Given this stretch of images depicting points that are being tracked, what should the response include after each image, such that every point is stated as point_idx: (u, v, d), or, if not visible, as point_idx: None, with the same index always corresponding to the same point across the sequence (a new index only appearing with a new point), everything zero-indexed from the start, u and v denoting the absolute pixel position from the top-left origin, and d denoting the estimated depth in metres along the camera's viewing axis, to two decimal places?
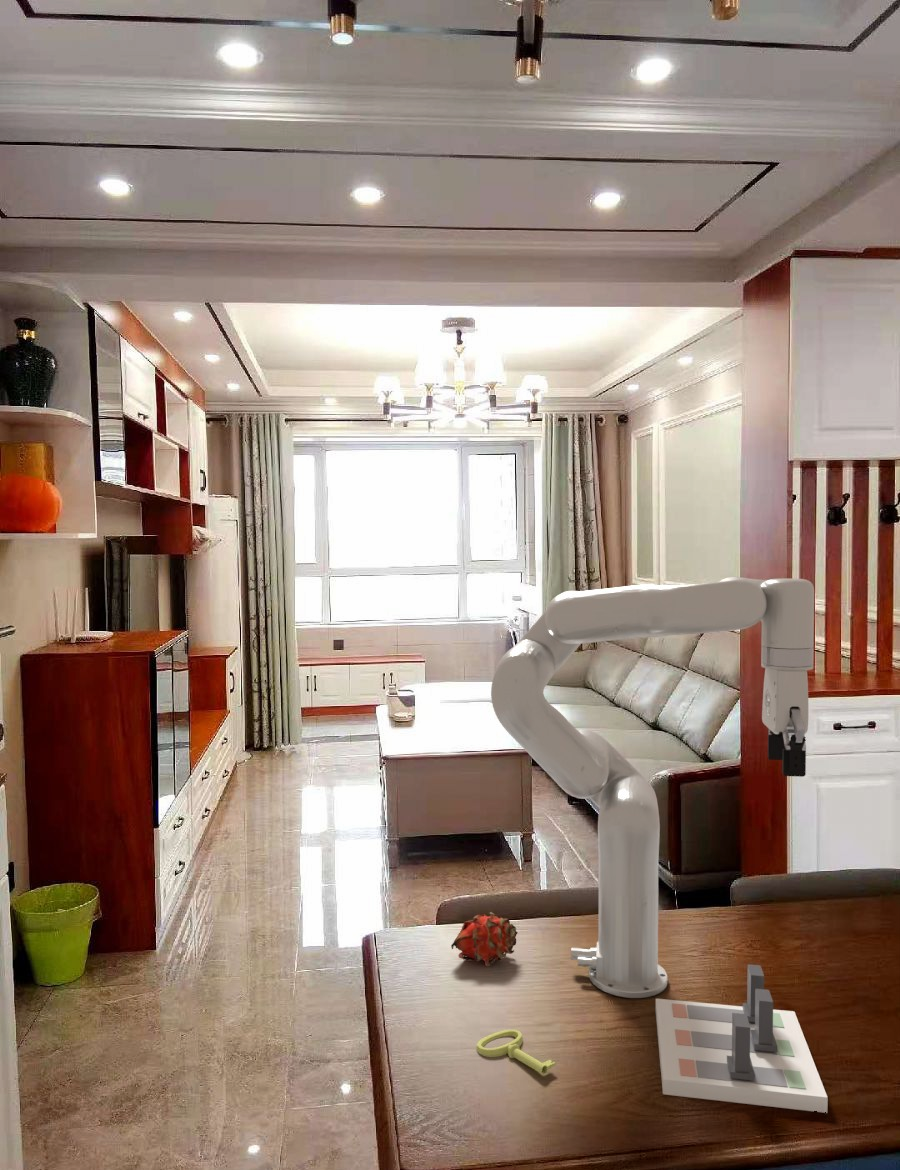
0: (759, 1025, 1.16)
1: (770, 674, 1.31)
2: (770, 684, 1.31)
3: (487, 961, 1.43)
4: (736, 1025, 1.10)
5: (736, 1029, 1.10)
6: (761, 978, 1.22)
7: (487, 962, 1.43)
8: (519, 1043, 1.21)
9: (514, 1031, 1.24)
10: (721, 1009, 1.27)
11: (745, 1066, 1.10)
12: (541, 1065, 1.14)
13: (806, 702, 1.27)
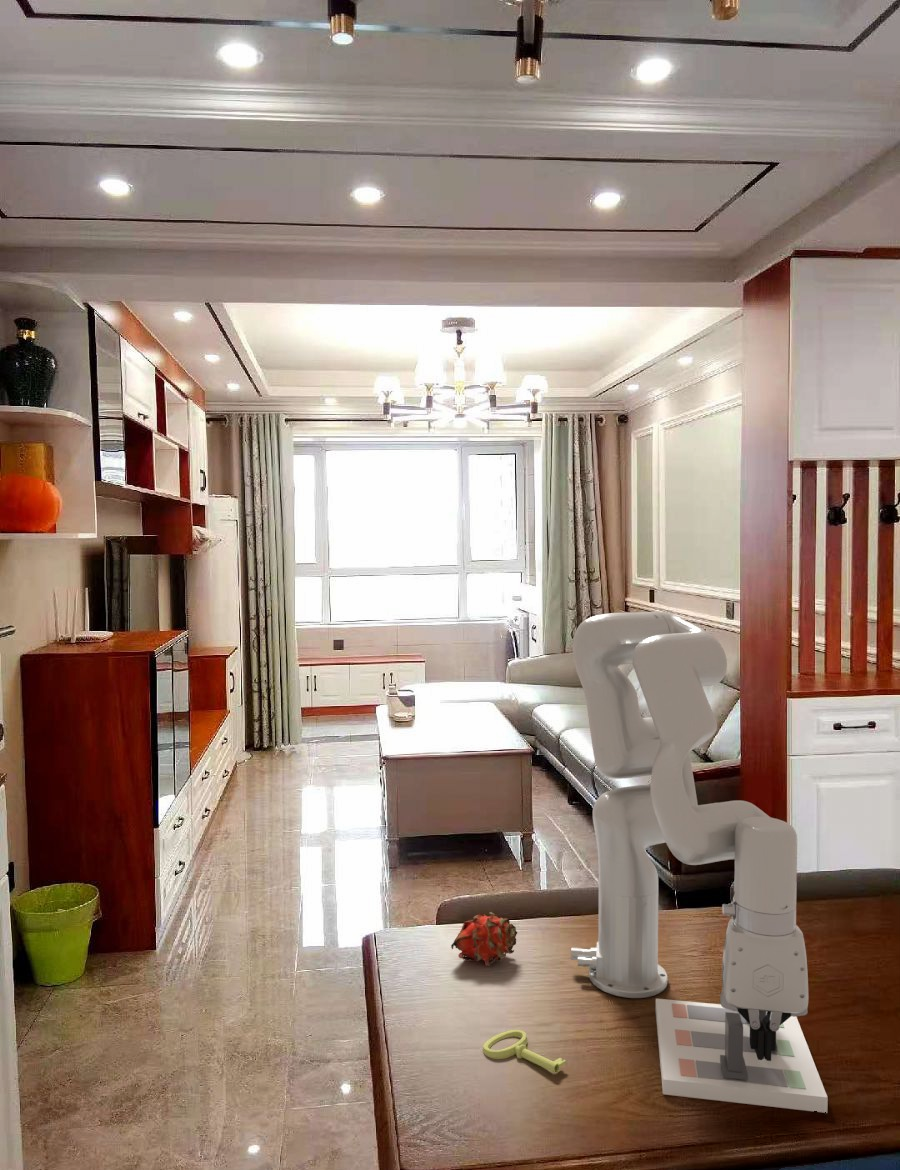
0: None
1: (777, 944, 1.07)
2: (780, 956, 1.07)
3: (487, 961, 1.43)
4: (729, 1024, 1.10)
5: (729, 1028, 1.10)
6: None
7: (487, 962, 1.43)
8: (525, 1043, 1.21)
9: (518, 1031, 1.24)
10: (721, 1009, 1.27)
11: (738, 1065, 1.10)
12: (553, 1064, 1.14)
13: None
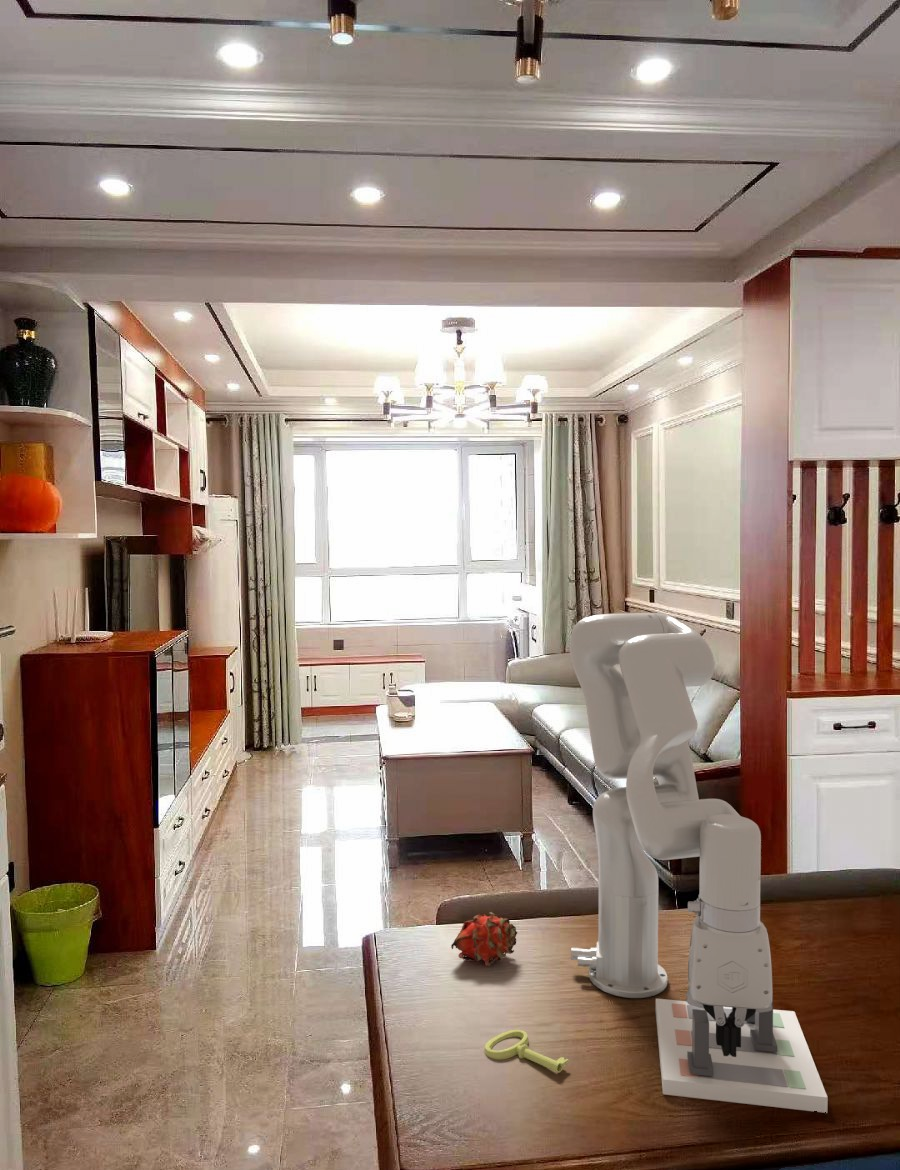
0: (759, 1025, 1.16)
1: (741, 941, 1.08)
2: (745, 953, 1.08)
3: (487, 961, 1.43)
4: (695, 1021, 1.11)
5: (695, 1025, 1.11)
6: None
7: (487, 962, 1.43)
8: (526, 1043, 1.21)
9: (518, 1031, 1.24)
10: None
11: (704, 1062, 1.11)
12: (556, 1063, 1.15)
13: None
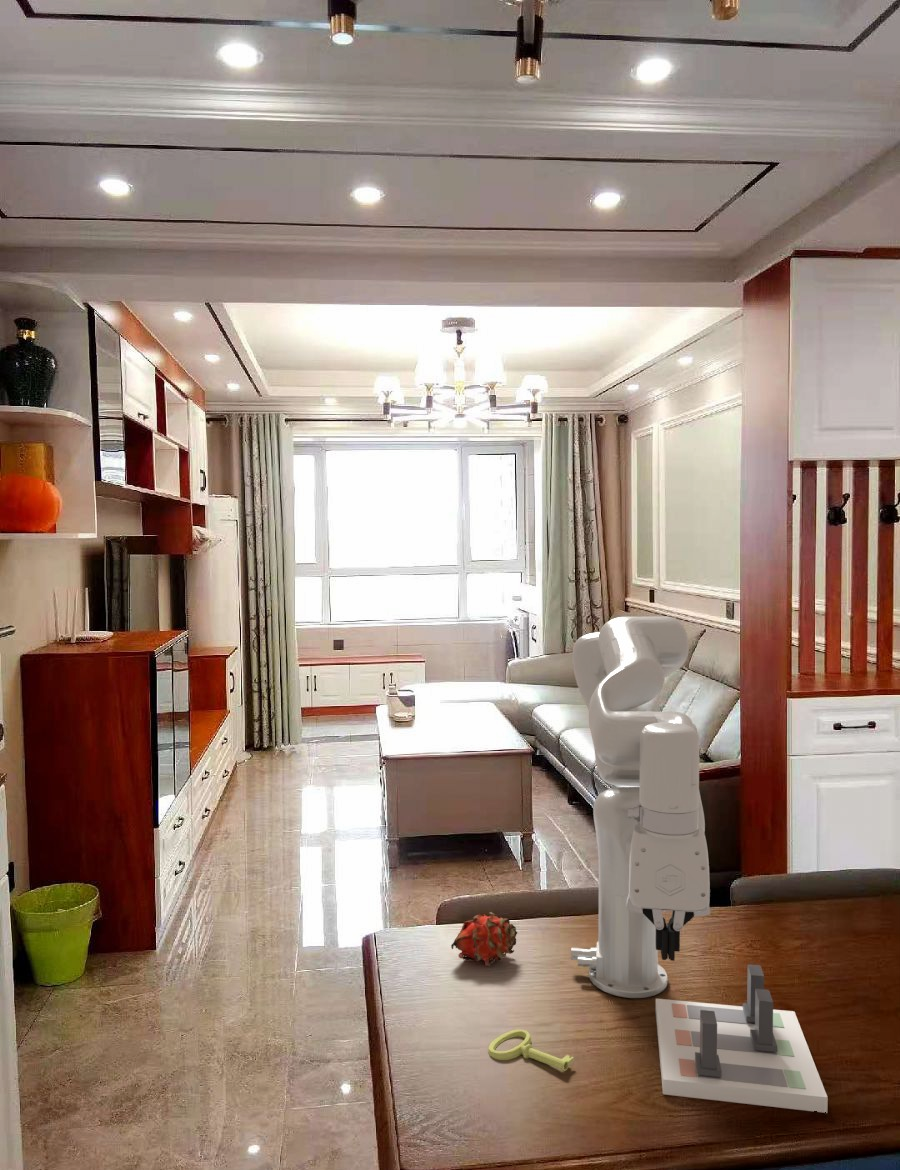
0: (759, 1025, 1.16)
1: (679, 844, 1.09)
2: (682, 856, 1.09)
3: (487, 961, 1.43)
4: (703, 1022, 1.11)
5: (703, 1026, 1.10)
6: (761, 978, 1.22)
7: (487, 962, 1.43)
8: (529, 1042, 1.21)
9: (520, 1031, 1.24)
10: (721, 1009, 1.27)
11: (712, 1062, 1.10)
12: (562, 1061, 1.15)
13: None
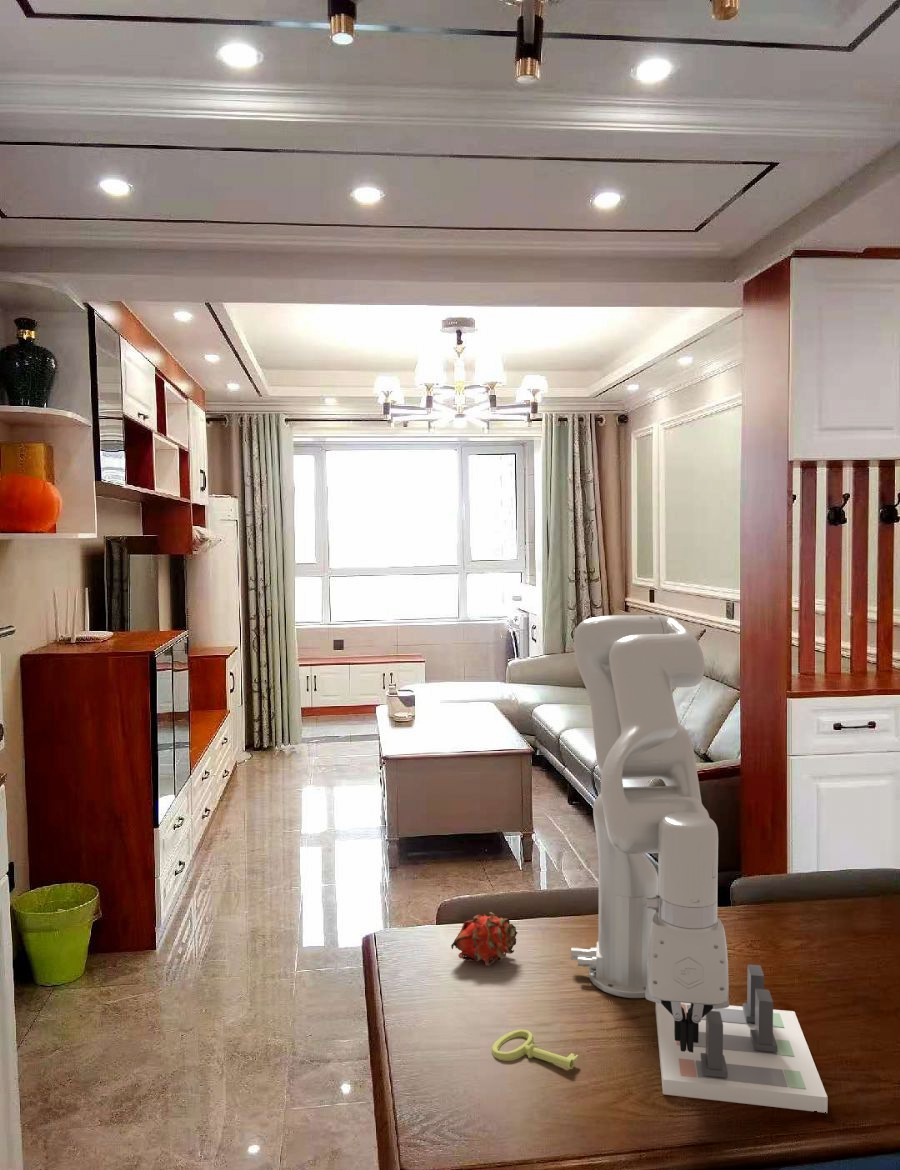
0: (759, 1025, 1.16)
1: (697, 937, 1.09)
2: (701, 949, 1.09)
3: (487, 961, 1.43)
4: (709, 1022, 1.11)
5: (709, 1026, 1.10)
6: (761, 978, 1.22)
7: (487, 962, 1.43)
8: (532, 1042, 1.21)
9: (522, 1031, 1.24)
10: (721, 1009, 1.27)
11: (718, 1063, 1.10)
12: (568, 1060, 1.15)
13: None
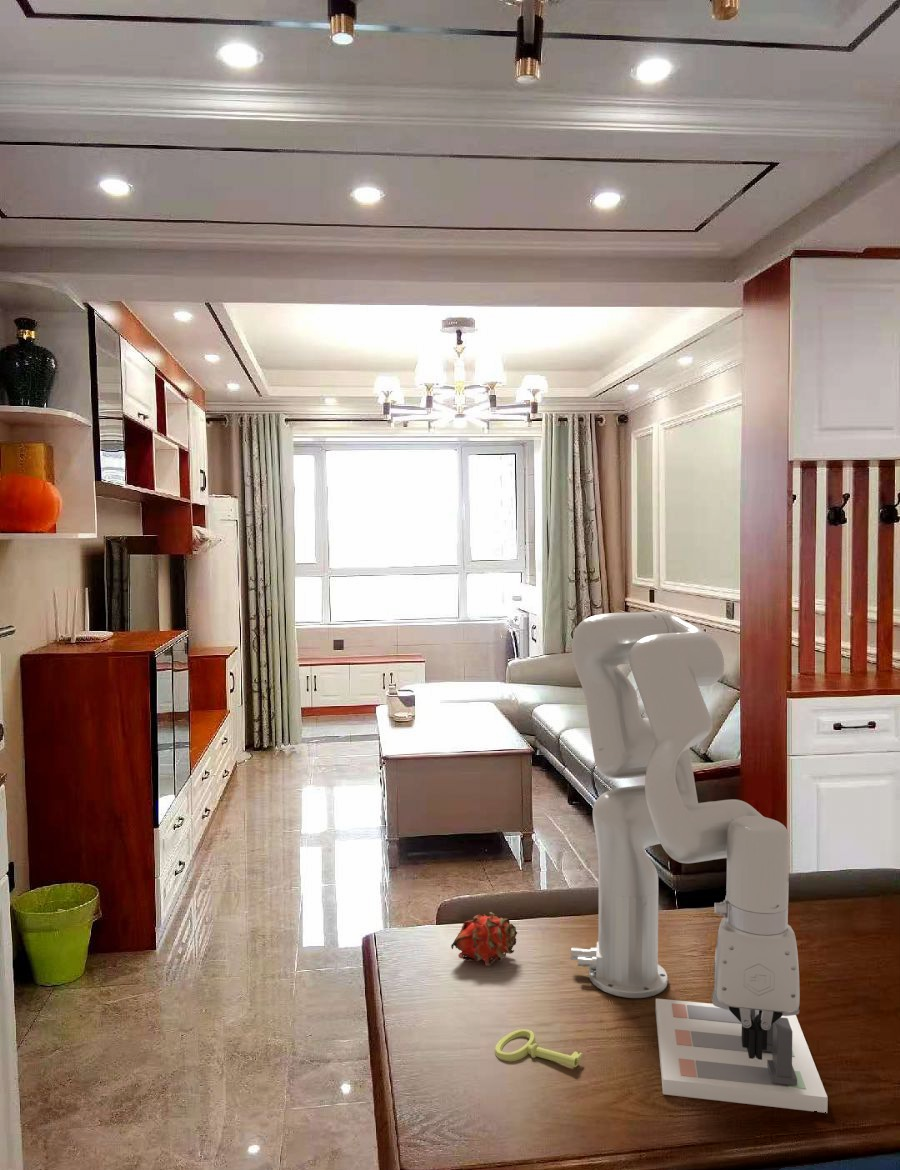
0: None
1: (768, 944, 1.07)
2: (772, 956, 1.07)
3: (487, 961, 1.43)
4: (778, 1029, 1.09)
5: (778, 1033, 1.09)
6: None
7: (487, 962, 1.43)
8: (534, 1041, 1.21)
9: (523, 1031, 1.24)
10: (721, 1009, 1.27)
11: (787, 1070, 1.09)
12: (572, 1058, 1.16)
13: None
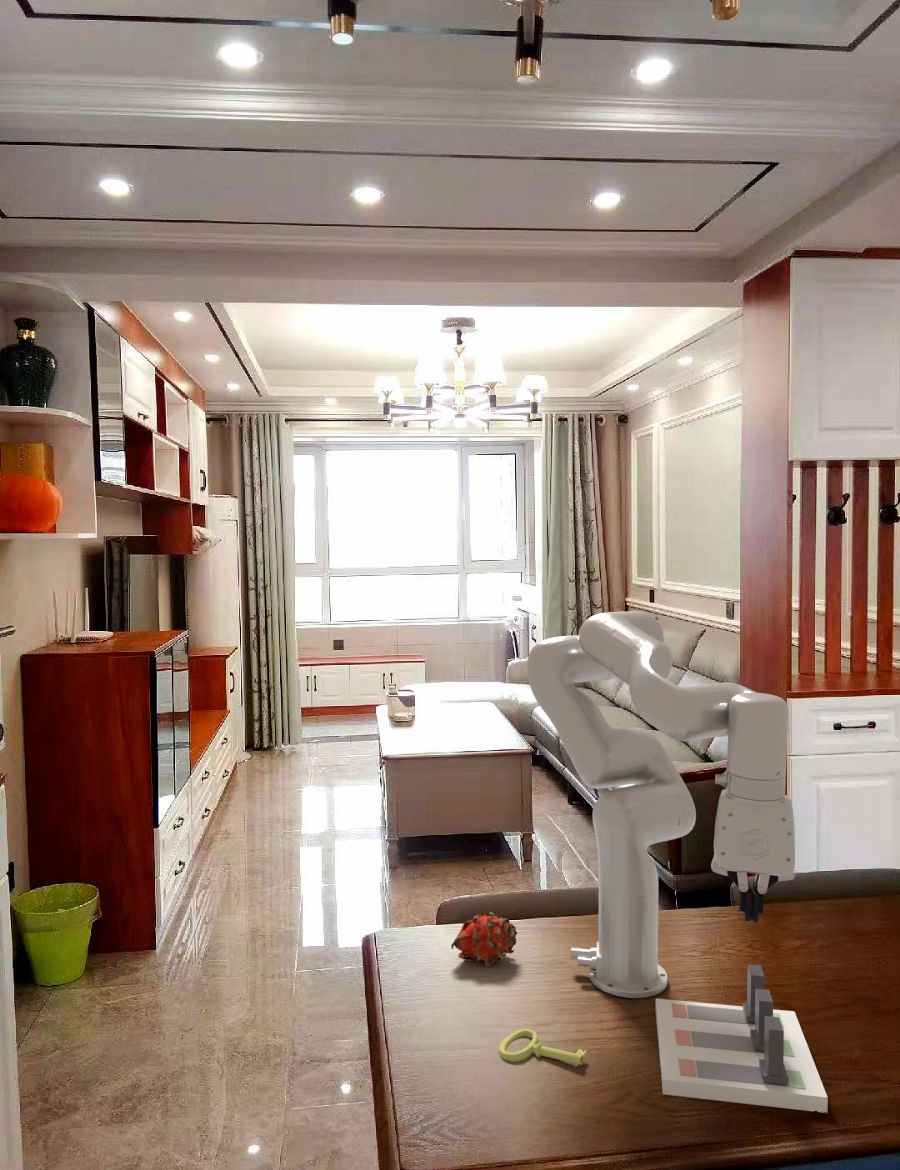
0: (759, 1025, 1.16)
1: (766, 810, 1.12)
2: (769, 821, 1.12)
3: (487, 961, 1.43)
4: (769, 1028, 1.09)
5: (769, 1032, 1.09)
6: (761, 978, 1.22)
7: (487, 962, 1.43)
8: (537, 1041, 1.22)
9: (525, 1030, 1.24)
10: (721, 1009, 1.27)
11: (778, 1070, 1.09)
12: (578, 1056, 1.16)
13: None
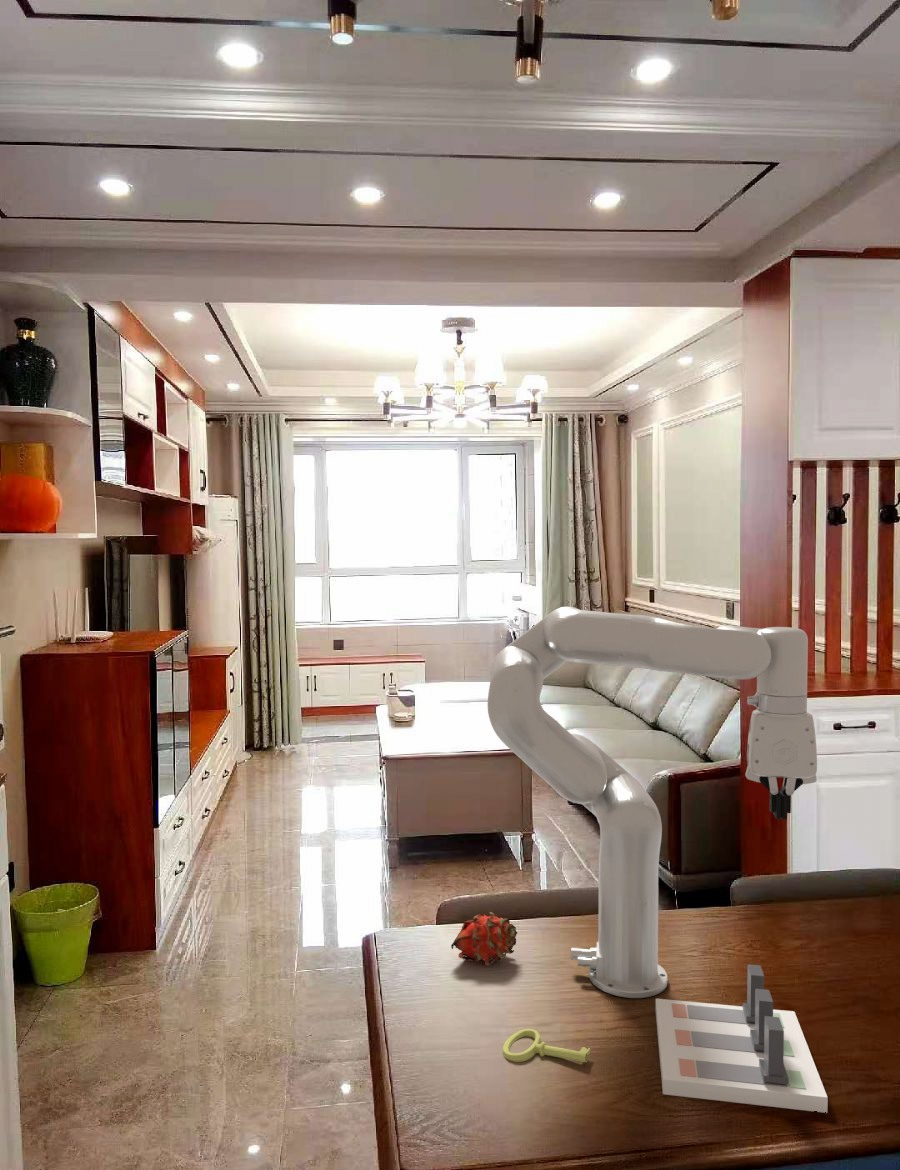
0: (759, 1025, 1.16)
1: (792, 722, 1.34)
2: (794, 732, 1.34)
3: (487, 961, 1.43)
4: (769, 1028, 1.09)
5: (769, 1032, 1.09)
6: (761, 978, 1.22)
7: (487, 962, 1.43)
8: (540, 1040, 1.22)
9: (527, 1030, 1.24)
10: (721, 1009, 1.27)
11: (778, 1070, 1.09)
12: (583, 1054, 1.17)
13: None
